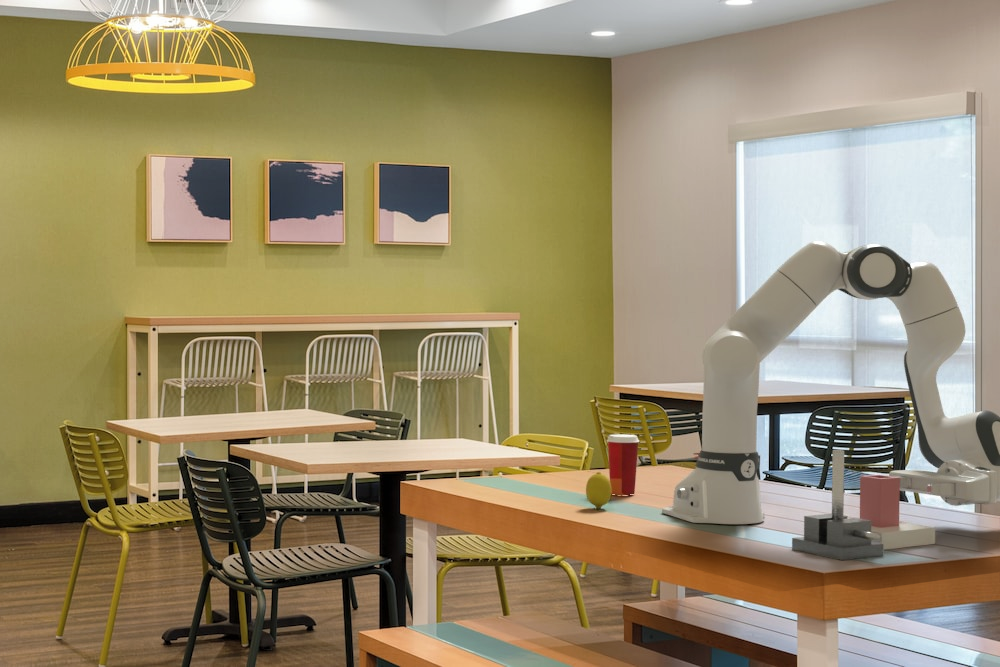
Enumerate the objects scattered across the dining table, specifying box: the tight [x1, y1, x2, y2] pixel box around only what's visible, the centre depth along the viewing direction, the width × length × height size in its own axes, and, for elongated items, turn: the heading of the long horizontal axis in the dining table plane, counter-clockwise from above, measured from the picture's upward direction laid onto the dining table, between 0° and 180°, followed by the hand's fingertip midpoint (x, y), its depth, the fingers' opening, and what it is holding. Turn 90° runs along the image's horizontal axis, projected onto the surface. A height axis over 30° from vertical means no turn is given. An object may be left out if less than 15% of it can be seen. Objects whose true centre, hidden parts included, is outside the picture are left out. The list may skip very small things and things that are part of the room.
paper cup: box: [606, 433, 640, 495], centre depth 290 cm, size 8×8×14 cm
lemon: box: [585, 471, 612, 510], centre depth 267 cm, size 6×6×8 cm
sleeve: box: [859, 474, 901, 528], centre depth 230 cm, size 5×5×9 cm
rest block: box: [871, 520, 936, 551], centre depth 230 cm, size 14×14×3 cm
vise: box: [791, 449, 884, 561], centre depth 216 cm, size 16×10×18 cm, turn 30°
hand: (909, 486), depth 234 cm, fingers open, 8 cm apart
